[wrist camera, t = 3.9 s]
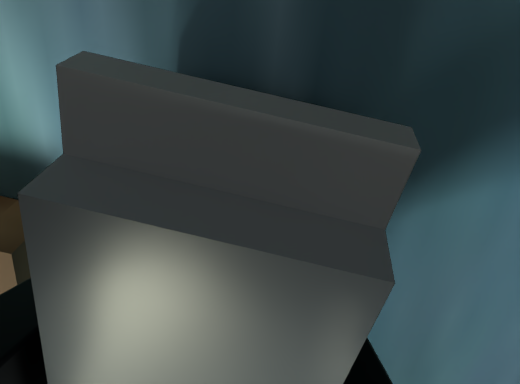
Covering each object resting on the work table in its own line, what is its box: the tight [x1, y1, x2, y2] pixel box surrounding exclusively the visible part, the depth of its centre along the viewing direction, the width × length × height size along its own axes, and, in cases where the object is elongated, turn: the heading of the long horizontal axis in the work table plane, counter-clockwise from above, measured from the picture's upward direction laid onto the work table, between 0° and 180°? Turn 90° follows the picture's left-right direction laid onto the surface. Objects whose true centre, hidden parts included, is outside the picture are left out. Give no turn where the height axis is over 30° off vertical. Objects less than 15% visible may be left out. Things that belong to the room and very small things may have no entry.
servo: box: [17, 51, 421, 384], centre depth 8 cm, size 4×9×6 cm, turn 169°
